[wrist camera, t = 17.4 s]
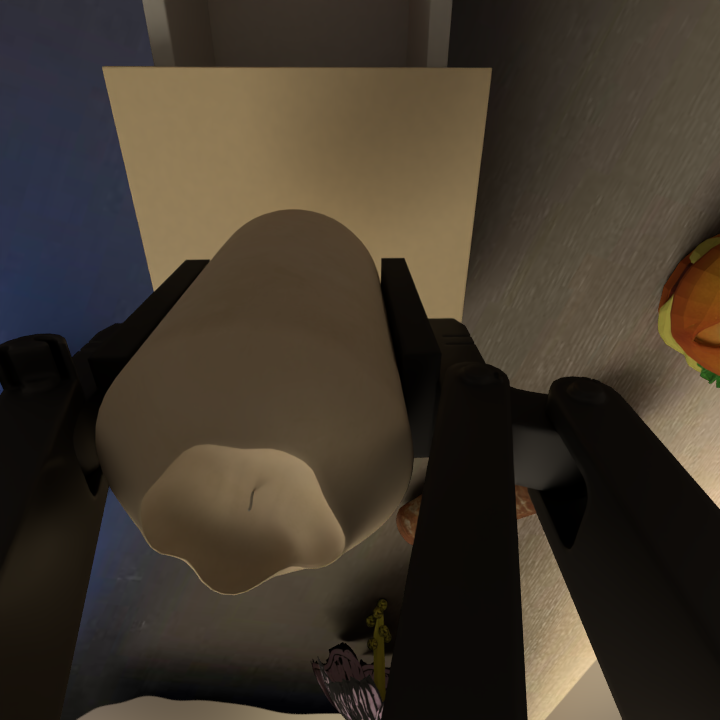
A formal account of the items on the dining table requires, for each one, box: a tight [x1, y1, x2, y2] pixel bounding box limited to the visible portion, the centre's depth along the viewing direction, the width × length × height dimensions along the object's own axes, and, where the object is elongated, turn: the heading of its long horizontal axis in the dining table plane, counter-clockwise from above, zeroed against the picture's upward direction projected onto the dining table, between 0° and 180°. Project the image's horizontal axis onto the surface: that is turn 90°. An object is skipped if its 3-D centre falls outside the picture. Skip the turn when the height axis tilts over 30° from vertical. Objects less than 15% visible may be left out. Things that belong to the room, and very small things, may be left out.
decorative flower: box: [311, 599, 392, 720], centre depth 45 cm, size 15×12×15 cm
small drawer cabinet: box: [102, 66, 492, 323], centre depth 24 cm, size 16×14×10 cm
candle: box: [95, 209, 414, 595], centre depth 11 cm, size 6×6×10 cm
